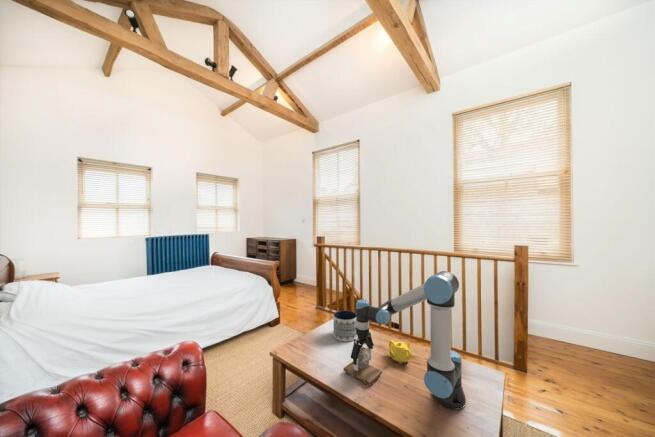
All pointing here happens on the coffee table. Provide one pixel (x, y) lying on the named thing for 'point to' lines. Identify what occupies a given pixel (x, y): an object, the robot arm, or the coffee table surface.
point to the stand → (364, 373)
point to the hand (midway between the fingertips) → (362, 364)
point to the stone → (363, 358)
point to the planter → (345, 326)
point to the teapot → (399, 351)
